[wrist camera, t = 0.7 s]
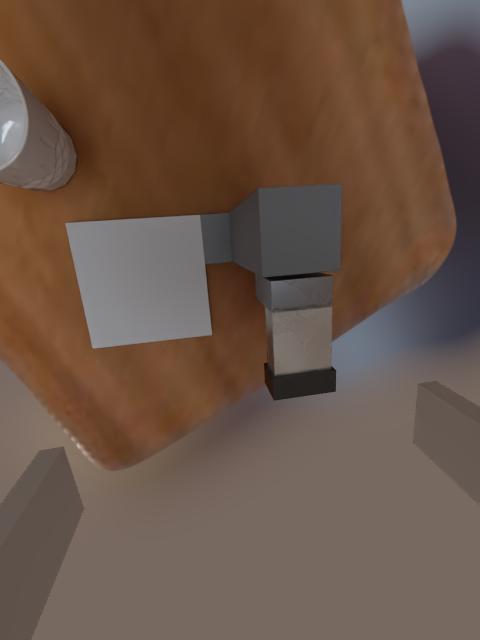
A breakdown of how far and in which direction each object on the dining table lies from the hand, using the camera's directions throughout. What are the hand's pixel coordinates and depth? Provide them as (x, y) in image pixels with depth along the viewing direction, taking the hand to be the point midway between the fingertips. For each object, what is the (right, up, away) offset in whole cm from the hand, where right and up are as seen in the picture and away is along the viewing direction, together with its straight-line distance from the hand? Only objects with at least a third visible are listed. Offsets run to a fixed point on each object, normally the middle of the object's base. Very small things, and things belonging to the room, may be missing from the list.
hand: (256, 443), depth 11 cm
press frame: (-7, +9, +22) cm, 25 cm away
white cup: (-20, +20, +17) cm, 33 cm away
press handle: (+3, +5, +13) cm, 14 cm away
